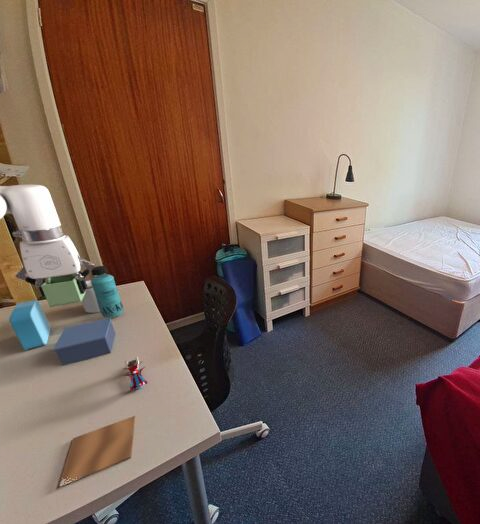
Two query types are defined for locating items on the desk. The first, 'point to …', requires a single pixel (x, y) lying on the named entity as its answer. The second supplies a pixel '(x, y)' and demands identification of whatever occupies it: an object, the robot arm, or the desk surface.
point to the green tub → (62, 290)
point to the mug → (90, 300)
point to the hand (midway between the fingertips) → (66, 294)
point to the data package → (30, 324)
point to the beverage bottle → (106, 293)
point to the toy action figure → (135, 374)
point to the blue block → (85, 341)
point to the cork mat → (99, 449)
